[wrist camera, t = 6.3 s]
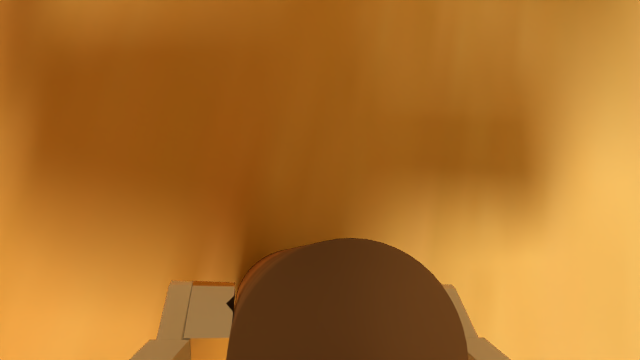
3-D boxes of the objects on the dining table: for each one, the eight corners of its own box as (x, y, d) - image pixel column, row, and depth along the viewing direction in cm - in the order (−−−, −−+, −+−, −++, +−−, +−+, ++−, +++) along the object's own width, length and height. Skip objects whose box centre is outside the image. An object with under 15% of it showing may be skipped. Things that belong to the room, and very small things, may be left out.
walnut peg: (346, 250, 16) (462, 240, 8) (346, 363, 16) (475, 492, 7) (237, 249, 16) (231, 235, 7) (232, 367, 15) (219, 514, 6)
